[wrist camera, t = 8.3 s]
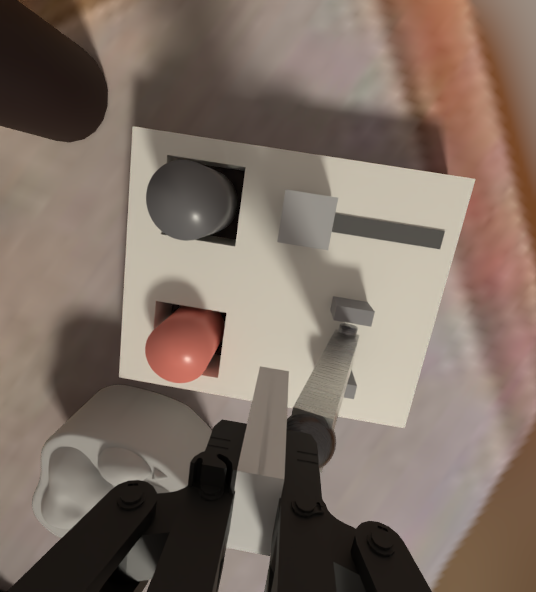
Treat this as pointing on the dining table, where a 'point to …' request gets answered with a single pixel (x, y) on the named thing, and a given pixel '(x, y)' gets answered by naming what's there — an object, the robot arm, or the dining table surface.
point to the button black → (190, 200)
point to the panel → (297, 271)
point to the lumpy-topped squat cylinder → (115, 452)
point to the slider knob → (307, 219)
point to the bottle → (46, 79)
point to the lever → (326, 392)
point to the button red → (184, 343)
